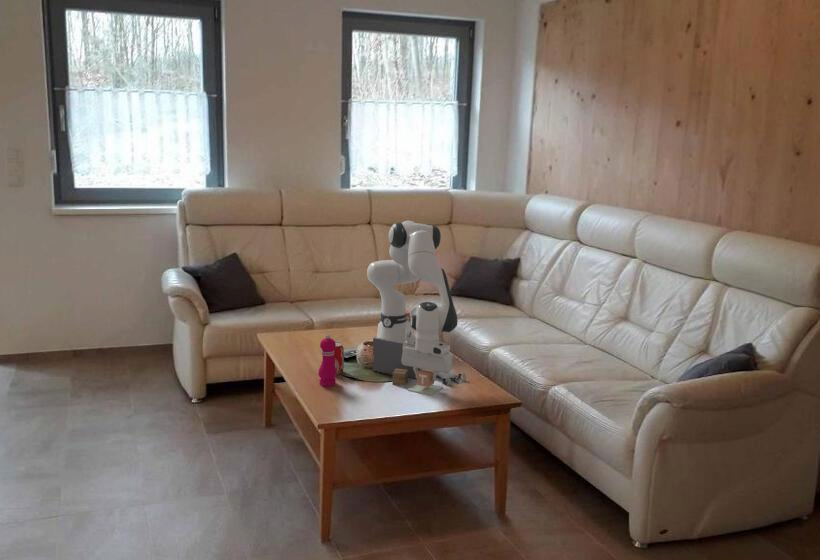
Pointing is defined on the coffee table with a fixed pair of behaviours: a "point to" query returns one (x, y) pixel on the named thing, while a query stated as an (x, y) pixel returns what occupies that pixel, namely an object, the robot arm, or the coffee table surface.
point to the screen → (389, 357)
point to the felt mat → (425, 389)
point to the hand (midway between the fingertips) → (425, 379)
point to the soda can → (338, 357)
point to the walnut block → (400, 377)
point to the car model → (449, 378)
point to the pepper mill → (327, 362)
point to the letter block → (424, 377)
